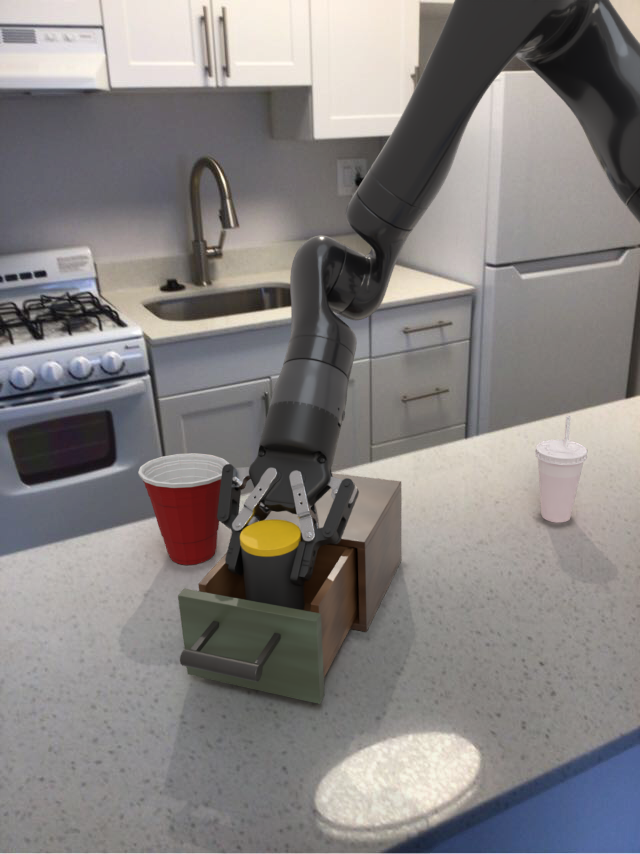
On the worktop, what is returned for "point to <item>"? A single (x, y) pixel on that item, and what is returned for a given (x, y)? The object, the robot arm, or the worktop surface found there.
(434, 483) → the worktop surface
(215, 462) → the plastic cup
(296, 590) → the canister
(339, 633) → the drawer
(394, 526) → the cabinet
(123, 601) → the worktop surface
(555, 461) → the smoothie
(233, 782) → the worktop surface
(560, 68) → the robot arm
